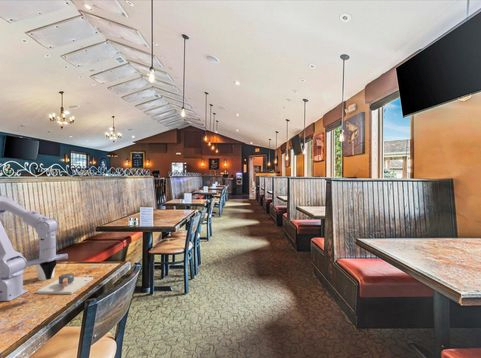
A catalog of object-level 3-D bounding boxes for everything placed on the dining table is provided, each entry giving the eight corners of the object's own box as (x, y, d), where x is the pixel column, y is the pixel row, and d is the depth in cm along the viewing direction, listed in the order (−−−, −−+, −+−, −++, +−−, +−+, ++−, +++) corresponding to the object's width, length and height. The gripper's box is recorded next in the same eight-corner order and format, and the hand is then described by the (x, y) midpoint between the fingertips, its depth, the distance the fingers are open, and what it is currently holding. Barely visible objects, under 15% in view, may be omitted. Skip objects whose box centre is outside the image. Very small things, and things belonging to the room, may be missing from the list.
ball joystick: (59, 280, 124) (59, 274, 124) (74, 277, 127) (74, 272, 127) (56, 288, 116) (56, 282, 115) (72, 285, 118) (72, 280, 118)
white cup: (59, 275, 136) (59, 256, 136) (46, 281, 128) (46, 261, 128) (45, 274, 137) (45, 255, 137) (32, 280, 129) (31, 260, 129)
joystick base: (71, 294, 115) (71, 289, 115) (36, 293, 115) (36, 288, 115) (93, 279, 131) (93, 275, 131) (62, 278, 131) (62, 274, 131)
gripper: (28, 253, 104) (29, 287, 105) (70, 245, 116) (70, 276, 116) (24, 250, 109) (25, 282, 109) (64, 243, 120) (65, 272, 120)
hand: (48, 278), depth 113 cm, fingers closed
